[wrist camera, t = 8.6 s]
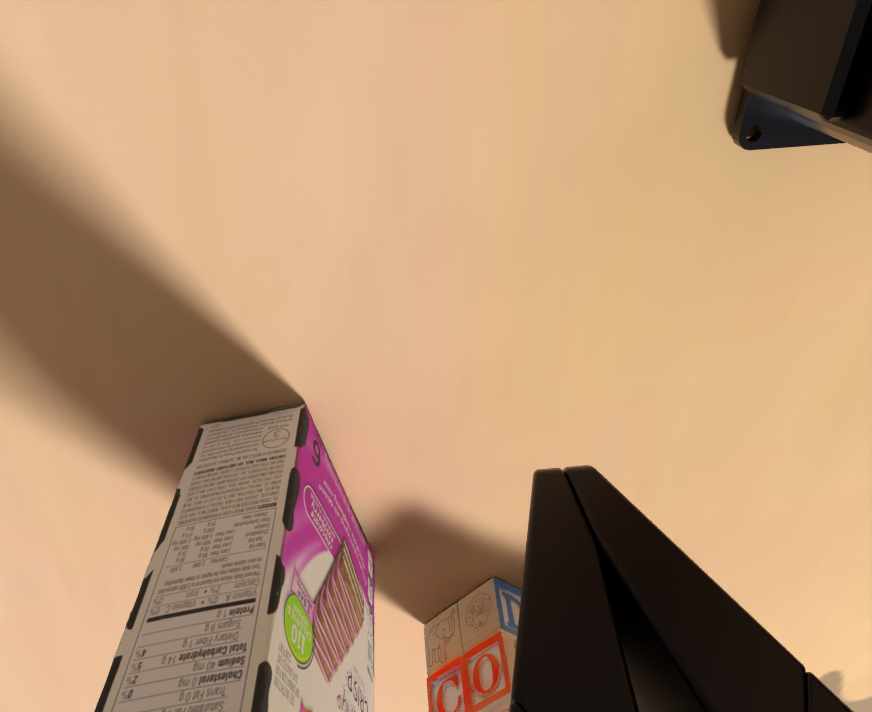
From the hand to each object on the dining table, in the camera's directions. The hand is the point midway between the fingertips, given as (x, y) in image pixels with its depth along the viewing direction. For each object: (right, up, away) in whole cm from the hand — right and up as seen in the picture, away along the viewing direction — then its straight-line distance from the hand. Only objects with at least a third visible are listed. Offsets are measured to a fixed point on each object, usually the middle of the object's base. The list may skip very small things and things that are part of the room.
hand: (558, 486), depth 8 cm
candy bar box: (-8, -4, +19) cm, 21 cm away
